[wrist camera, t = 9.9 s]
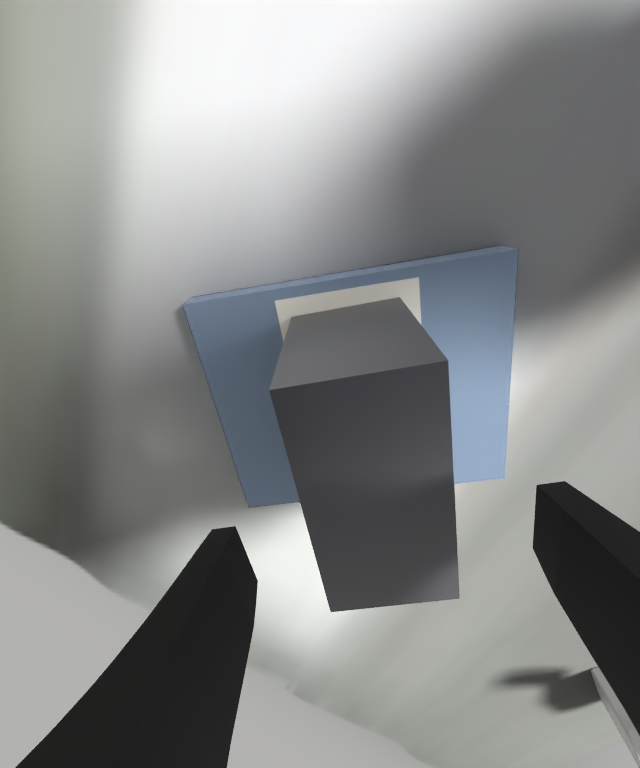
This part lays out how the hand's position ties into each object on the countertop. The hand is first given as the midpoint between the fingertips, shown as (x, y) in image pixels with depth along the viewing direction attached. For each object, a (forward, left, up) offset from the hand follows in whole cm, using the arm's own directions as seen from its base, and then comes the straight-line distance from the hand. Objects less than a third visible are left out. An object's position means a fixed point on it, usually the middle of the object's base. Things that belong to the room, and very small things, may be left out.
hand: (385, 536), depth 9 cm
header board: (0, 0, -8) cm, 8 cm away
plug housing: (0, 0, -7) cm, 7 cm away
